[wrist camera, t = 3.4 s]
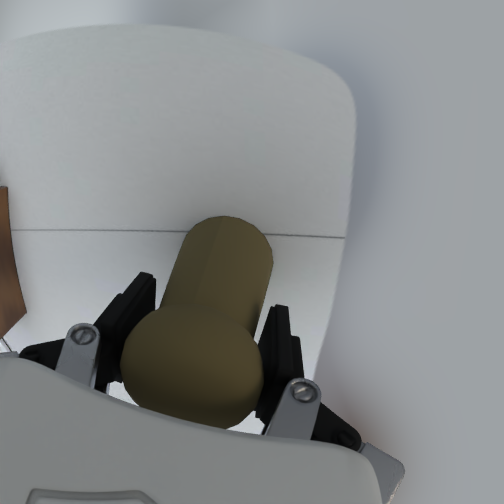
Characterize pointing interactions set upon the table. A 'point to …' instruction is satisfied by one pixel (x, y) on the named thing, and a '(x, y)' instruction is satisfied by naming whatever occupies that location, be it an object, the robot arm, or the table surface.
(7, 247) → the brown wooden box
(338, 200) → the table surface
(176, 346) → the olive pawn figure
